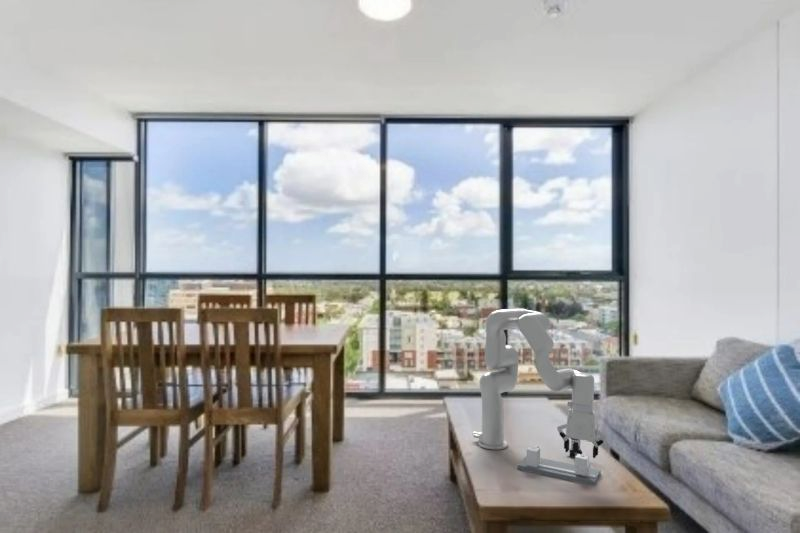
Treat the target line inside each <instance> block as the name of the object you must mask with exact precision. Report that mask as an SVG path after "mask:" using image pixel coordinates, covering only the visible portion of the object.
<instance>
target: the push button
mask: <svg viewBox="0 0 800 533" xmlns="http://www.w3.org/2000/svg"><path fill="white" fill-rule="evenodd" d="M565 453H566V454H564V455H565V456H569V457H570V458H575V457H576V455H577V454H582V453H583V451H582V448H581V440H578V439H573V438H570V447H569V451H568V452H565Z"/></svg>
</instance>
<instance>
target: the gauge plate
mask: <svg viewBox="0 0 800 533" xmlns="http://www.w3.org/2000/svg"><path fill="white" fill-rule="evenodd" d="M520 469H521V471H525V472H529V473H530V472H531V473H535V474H539V475H544V476H549V477H553V478H559V479H562V480H563V479H564V480H568V481H571V482H577V483H581V484H584V485H585V484H586V485H591V486H596V483H597V482H598V480H599V477H600V476H601V474H602V473H601V469H599V468H592V467H589V473H588V475H587V476H584V475H579V474H575V464H574V463H573V464H572V463H568V462H563V461H557V460H553V459H549V458H548V459H547V458H543V457H541V448H540V446H539V445H537V444H535V445H534V446H529V447H527V449H526V455H525V457H524V458H522V460H521V461H520V462H519V463H518V464H517V470H520Z"/></svg>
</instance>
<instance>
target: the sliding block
mask: <svg viewBox="0 0 800 533" xmlns="http://www.w3.org/2000/svg"><path fill="white" fill-rule="evenodd" d="M587 453H588V452H585V451H582V454H577V455H576V457H574V462H575V464H574V465H575V474H579V475H584V476H587V475H588V473H589V468H590V455H588V454H587Z"/></svg>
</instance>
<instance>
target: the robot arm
mask: <svg viewBox="0 0 800 533" xmlns="http://www.w3.org/2000/svg"><path fill="white" fill-rule="evenodd" d="M550 328H551V321H550V319H549V317H548V316H547V315H546V314H545V313H543V312H539V311H534V310H529V309H525V308H508V309H507V308H504V309H497V310H495V311H492V312H490V313H489V314H488V316H486V320H485V334H486V335H485V347H484V349H485V350H484V364H485V366H486V367H487V368H488V369H491V370H493V371H488V372H485V373H484V374H482V375H481V377H480V378H479V379H480V380H479V387H480V394H481V432H477V431H473V433H472V435H473V438H476V439H477V445H478V446H479V447H481V448H483V449H487V450H493V451H495V450H503V449H506V448H507V447H508V442H507V441H506V440H505V437H504V436H505V403H504V399H503V397H502V395H501V394H503V393H506V392H510V391H512V390H514V389H515V388H516V386H517V383H518V374H519V372H518V371H519V361H520V360H519V354H518V352H517V349H516V348H515V347H514V346H513V345H509V344H506V343H507V337H506V333H505V331H507V330H515V329H516V330H517V329H518V330H519V331H520V333H521V334H522V336H523V337H524V339H525V341H526V342H527V344H529V347H530V348H531V350H532V351H533V352H534V355H535V356H534V362H535V364H534V365H535V368H536V371H537V374H538V375H539V377H540V378H541V380H542V382H543V383H544V384H545V386H546V387H547V388H548V389H549V390H550V391H552V392H561V391H565V390H571V401H567V406H568V407H570V409H568V413H567V420H566V423H564V424H561V425H558V426H557V427H556V429H557V432H558V433H559V436H560V437H561V438H562V440H563V449H565V452H569V449H570V439H571V438H573V439H578V440H580V441H584V442H590V443H591V444H592V445H593V446H592V458H593V459H596V457H597V456H598V455H599V447H600V446H601V445H603V444H604V442H605V440H606V439H607V438H608V436H607V434H605V433H603V432H602V431H601V430H599V429H598V428H597V426H598V425H597V417H596V413H595V412H596V411H594V399H595V398H594V396H595V376H593V374H590V373H587V372H581V371H578V370H576V369H574V368H561V369H556V368H555V366H554V365H553V364H552V362H551V360H550V351H551V350H552V349H553V348H554V345H555V342H554V340H553V339H552V338H551V336H550V334H549V333H548V331H549V330H550ZM563 430H565V432H564V431H563ZM597 435H598V436H599V437H600V439H599V440H598V439H597Z"/></svg>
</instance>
